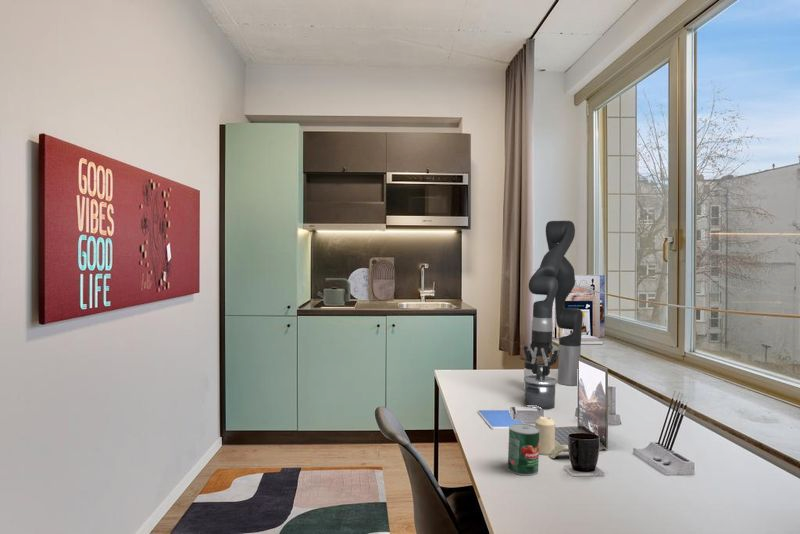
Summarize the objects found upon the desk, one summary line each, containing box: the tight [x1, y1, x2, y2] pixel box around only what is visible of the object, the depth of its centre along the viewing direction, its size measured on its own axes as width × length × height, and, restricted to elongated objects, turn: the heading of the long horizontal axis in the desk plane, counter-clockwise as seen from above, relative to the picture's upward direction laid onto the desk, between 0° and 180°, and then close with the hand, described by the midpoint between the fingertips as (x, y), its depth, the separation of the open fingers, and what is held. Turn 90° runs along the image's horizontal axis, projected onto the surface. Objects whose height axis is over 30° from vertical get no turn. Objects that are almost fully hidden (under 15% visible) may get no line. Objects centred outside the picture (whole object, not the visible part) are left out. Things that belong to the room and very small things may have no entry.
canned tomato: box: [507, 423, 540, 477], centre depth 142 cm, size 8×8×11 cm
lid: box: [523, 365, 558, 386], centre depth 202 cm, size 12×12×6 cm
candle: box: [534, 416, 556, 456], centre depth 155 cm, size 6×6×10 cm
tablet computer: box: [477, 409, 526, 430], centre depth 184 cm, size 19×13×1 cm, turn 6°
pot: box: [524, 382, 556, 411], centre depth 202 cm, size 15×11×9 cm
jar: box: [523, 360, 545, 392], centre depth 224 cm, size 9×8×12 cm
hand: (540, 374), depth 202 cm, fingers open, 4 cm apart
